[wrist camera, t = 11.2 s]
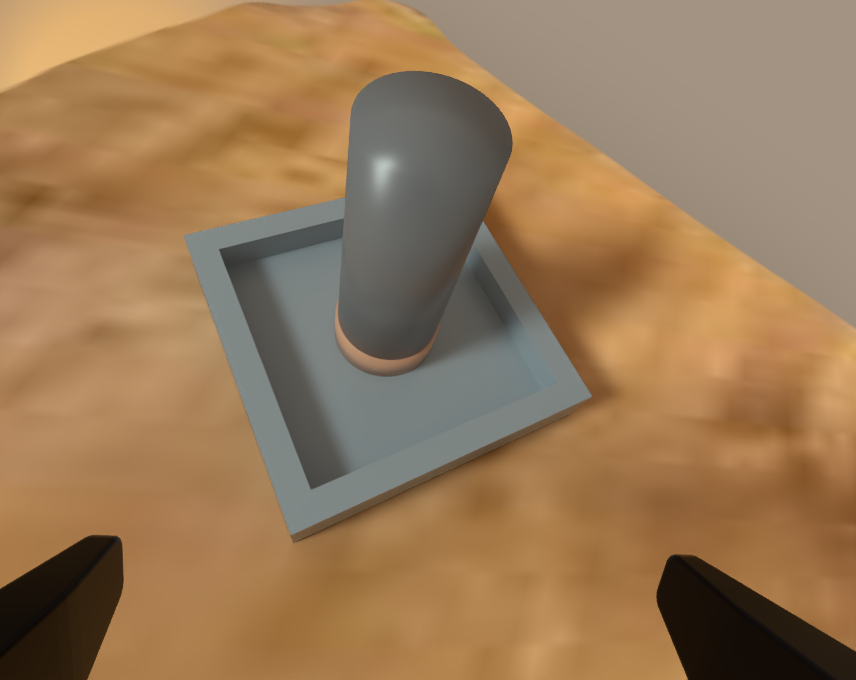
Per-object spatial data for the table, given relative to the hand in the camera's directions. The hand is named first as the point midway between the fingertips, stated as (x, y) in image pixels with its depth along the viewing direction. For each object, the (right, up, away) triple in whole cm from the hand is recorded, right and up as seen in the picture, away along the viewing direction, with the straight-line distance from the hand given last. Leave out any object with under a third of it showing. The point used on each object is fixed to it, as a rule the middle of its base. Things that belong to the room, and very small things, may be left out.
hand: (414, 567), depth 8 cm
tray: (-2, +4, +17) cm, 17 cm away
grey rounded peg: (-2, +4, +16) cm, 17 cm away
